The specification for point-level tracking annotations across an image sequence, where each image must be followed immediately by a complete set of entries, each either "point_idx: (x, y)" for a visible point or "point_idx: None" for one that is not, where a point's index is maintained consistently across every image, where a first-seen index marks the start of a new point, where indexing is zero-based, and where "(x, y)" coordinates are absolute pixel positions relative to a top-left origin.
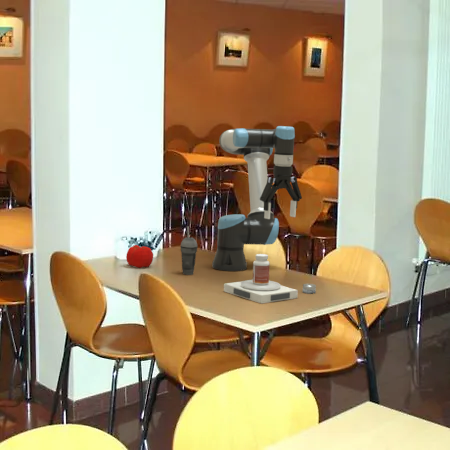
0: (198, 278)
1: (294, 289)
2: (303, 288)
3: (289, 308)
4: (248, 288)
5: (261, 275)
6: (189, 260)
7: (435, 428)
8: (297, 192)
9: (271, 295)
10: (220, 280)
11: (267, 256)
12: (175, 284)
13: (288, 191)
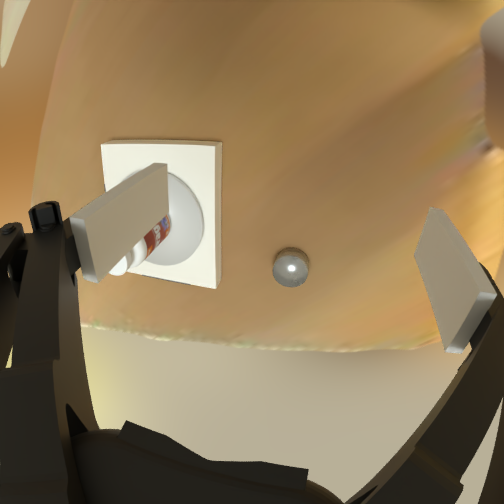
0: None
1: (213, 280)
2: (275, 261)
3: (155, 309)
4: None
5: None
6: None
7: None
8: (500, 431)
9: (142, 274)
10: (178, 28)
11: (121, 274)
12: (67, 38)
13: (434, 415)
